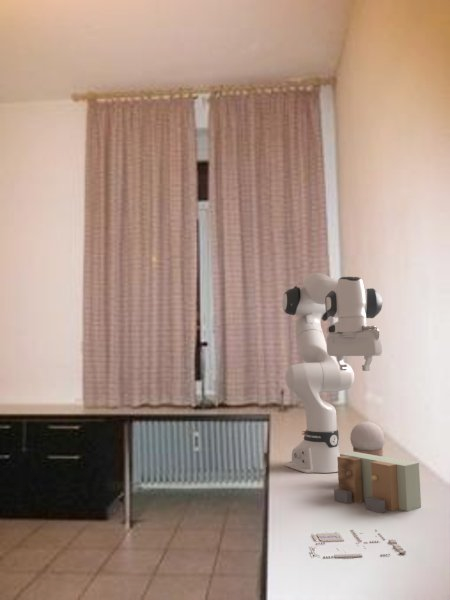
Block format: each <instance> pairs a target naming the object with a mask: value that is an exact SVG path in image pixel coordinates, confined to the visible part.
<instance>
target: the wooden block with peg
mask: <svg viewBox="0 0 450 600" xmlns="http://www.w3.org/2000/svg"><path fill="white" fill-rule="evenodd" d="M337 459H338V472H337V475H338V477H337V480H338V481H337V483H338V489H342V490H346V491H350V492H352V503H359V502H363V501H364V500H363V493H362V471H361V459H360V458H355V457H349V456H340V457H337Z"/></svg>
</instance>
